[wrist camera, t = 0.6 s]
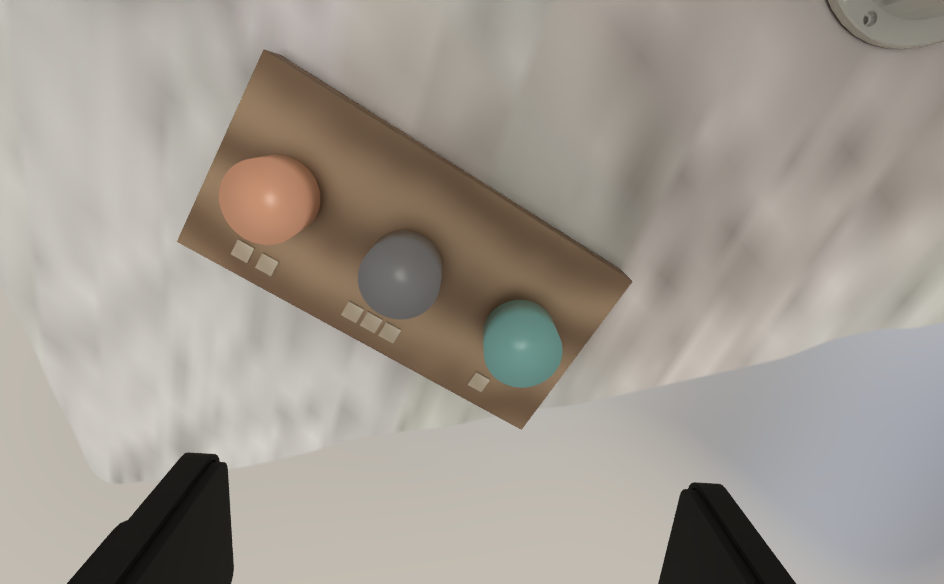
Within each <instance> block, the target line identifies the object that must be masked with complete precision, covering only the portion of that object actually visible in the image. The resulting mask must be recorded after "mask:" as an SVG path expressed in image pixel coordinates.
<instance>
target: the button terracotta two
mask: <svg viewBox="0 0 944 584" xmlns="http://www.w3.org/2000/svg"><path fill="white" fill-rule="evenodd" d="M219 203H220V208H221V211H222V214H223V216H224V218H225V220H226V221H227V223H228V224H229V226H230V227H231V228H232V229H233V230H234V231H235V232H236V233H237V234H239V235H240V236H241V237H243V238H244V239H246V240H248V241H251V242H253V243H257V244H261V245H274V244H279V243H282V242H284V241H287V240H288V239H290V238H291V237H293V236H294V235H296V234H297V233H299V232H301V231H302V230H304V229H305V228H307V227H308V226H309V225H310V224H311V223H312V222H313V221H314V219H315V218H316V216H317V214H318V211H319V208H320V190H319V186H318V184H317V181H316V179H315V178H314V176H313V174H312V173H311V172H310V171H309V169H308V168H307V167H306V166H304V165H303V164H302V163H301V162H299V161H297V160H296V159H294V158H291V157H288V156H284V155H268V156H262V157H257V158H251V159H246V160H243V161H241V162H239V163H237V164H235V165H234V166H232V167H231V168H230V169H229V170H228V171H227V173H226V174H225V176H224V177H223V179H222V182H221V185H220V189H219Z"/></svg>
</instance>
